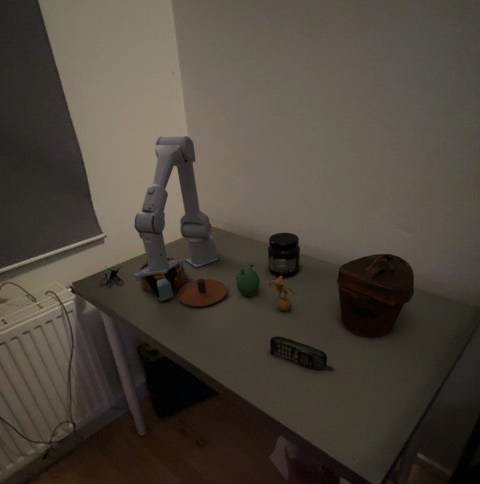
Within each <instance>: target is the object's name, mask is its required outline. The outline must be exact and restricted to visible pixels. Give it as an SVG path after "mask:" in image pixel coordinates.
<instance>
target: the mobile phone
mask: <svg viewBox="0 0 480 484" xmlns="http://www.w3.org/2000/svg"><path fill="white" fill-rule="evenodd" d="M269 346H270V347H269V349H270V354H271V355H273V356H276V357H278V358H282V359H285V360H287V361H289V362H293V363H295V364H297V365H300V366H303V367H304V368H306V369H307V368H308V369H312V370H319V371H321V370H323V369H327V370H330V371H333V370H334V367H333V366H331V365H328V364H327V363H328V357H327V356H328V355H327V354H326V353H325V351H323V350H321V349H318V348H316V347H313V346H311V345H309V344H305V343H303V342H302V343H301V342H299V341H297V340H294V339H291V338H288V337H283V336H278V335H277V336H273V337H271V338H270V339H269Z"/></svg>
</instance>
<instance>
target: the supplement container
mask: <svg viewBox="0 0 480 484" xmlns="http://www.w3.org/2000/svg"><path fill="white" fill-rule="evenodd" d="M268 244H269V245H268V246H267V259H268V260H267V262H268V265H267V268H268V269H267V270H268V272H269V273H270V274H271V275H273V276H275V277H278V278H279V277H280V276H282V277H283V278H289V277H292V276H295V275H296V274H297V273H298V272H299V271H300V252H301V247H300V245H299V244H300V238H299V236H298V235H297V234H295V233H292V232H278V233H274V234H272V235H270V236H269V238H268Z"/></svg>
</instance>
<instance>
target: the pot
mask: <svg viewBox="0 0 480 484" xmlns="http://www.w3.org/2000/svg"><path fill="white" fill-rule="evenodd" d="M175 259H177V258H175V257H168V256H167V260H168V261H169V260H175ZM146 267H148V262H147V261H146V262H145V263H143V264H141V266H140V267H139V268H138V271H140V270H142V269H144V268H146ZM175 270H177V275H176V278H175V281H174V286H173V291H174V290H177V289H178V288H180V287H182V285H184V283H186V282H185V281H186V274H185V269H184V265H183V266H182V267H180V266H179V267H176V268H175ZM153 276H154V277H155V279H156V280H157V281H158V280H161V279H164V278H166V277H165V274H155V275H153ZM140 283H141V286H142V288H143V289H144V290H145V291H146V292H149V293H152V294H154V292H153V290H152V288H151V286H150V285H149V284H148V282H147V281H146V280H145V279H144V278H143V279H141V281H140Z"/></svg>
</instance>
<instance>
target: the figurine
mask: <svg viewBox="0 0 480 484" xmlns="http://www.w3.org/2000/svg"><path fill="white" fill-rule="evenodd" d="M272 284H274V286H275V287H276V288H275V289H276V291H277V292H278V297H279V299H278V300H277V308H278V310H280V311H281V312H287V311H289V310H291V308H292V304H293V303H292V301H291V299H290V298H289V297H287V295H288V293H289V292H288V291H290V292H291V293H292V294H293V295H296V293H295V291H294V290H293V289H292V288H291V287H290V286H289V285H287V284H286V283H285V282H284V277H282V276H280V277H278V278H277V279H273V280H270V281H268V287H271V286H272ZM285 288H286V289H288V291H287V290H286V289H285ZM282 293H283V296H282Z"/></svg>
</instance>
